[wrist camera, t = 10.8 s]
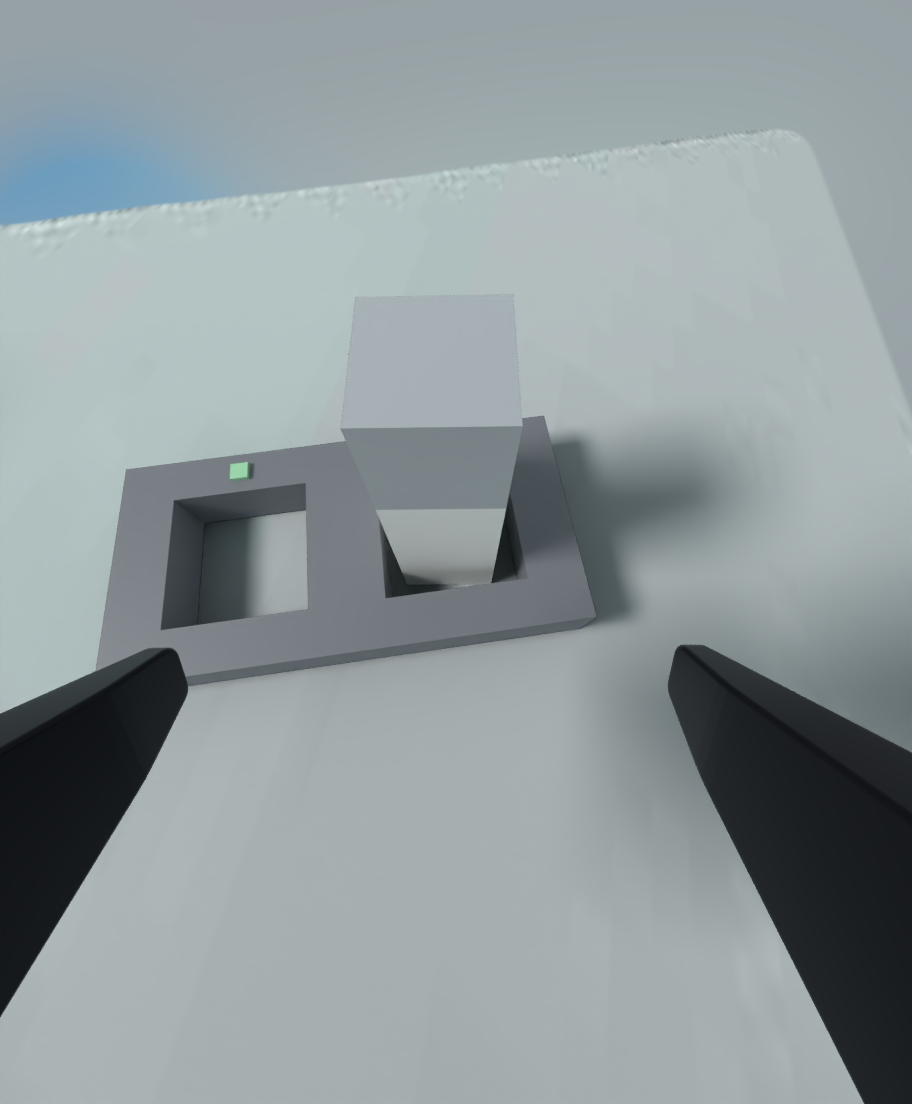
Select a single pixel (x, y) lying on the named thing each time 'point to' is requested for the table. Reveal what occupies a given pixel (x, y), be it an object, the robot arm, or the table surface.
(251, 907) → the table surface
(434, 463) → the plug
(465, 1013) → the table surface
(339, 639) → the socket plate
